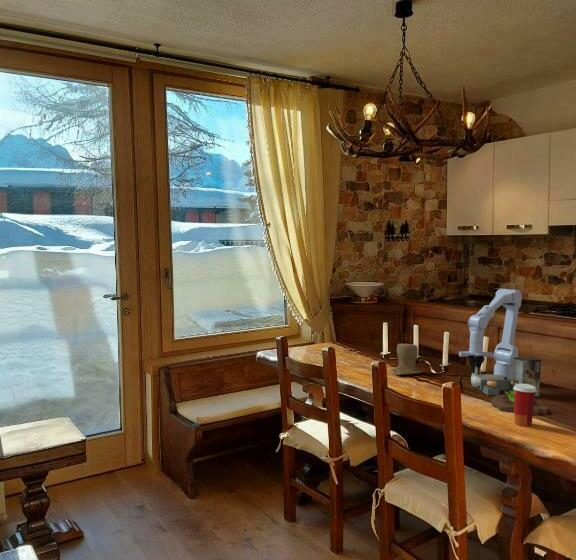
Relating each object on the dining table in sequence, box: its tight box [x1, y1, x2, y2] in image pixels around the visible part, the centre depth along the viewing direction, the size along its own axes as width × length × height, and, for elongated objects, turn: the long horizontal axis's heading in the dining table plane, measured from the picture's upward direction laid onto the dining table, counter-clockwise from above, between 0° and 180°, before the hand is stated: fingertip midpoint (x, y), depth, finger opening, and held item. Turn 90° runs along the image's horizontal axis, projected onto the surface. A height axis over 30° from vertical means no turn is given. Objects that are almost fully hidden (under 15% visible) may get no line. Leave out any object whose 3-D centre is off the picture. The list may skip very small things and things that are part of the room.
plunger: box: [487, 381, 497, 388], centre depth 242 cm, size 4×4×5 cm
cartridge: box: [470, 365, 504, 387], centre depth 251 cm, size 5×13×9 cm, turn 92°
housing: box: [473, 376, 513, 397], centre depth 248 cm, size 15×16×5 cm
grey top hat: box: [391, 343, 423, 376], centre depth 275 cm, size 15×12×15 cm
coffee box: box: [512, 356, 542, 397], centre depth 242 cm, size 9×6×16 cm
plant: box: [491, 380, 548, 416], centre depth 223 cm, size 20×20×11 cm
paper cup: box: [513, 384, 537, 428], centre depth 201 cm, size 8×8×14 cm
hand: (474, 372), depth 250 cm, fingers closed on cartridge
